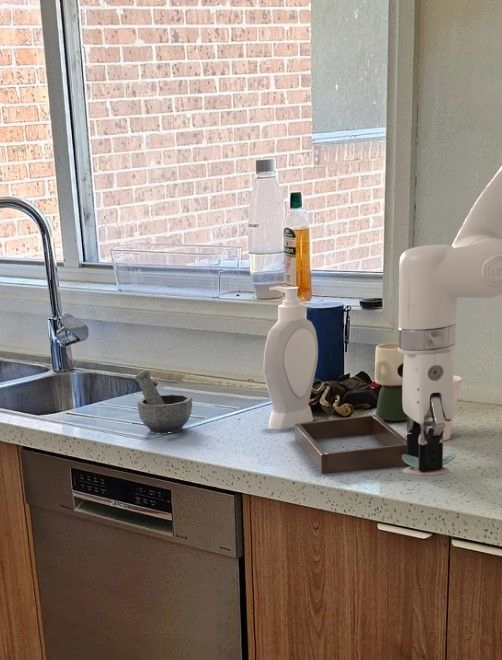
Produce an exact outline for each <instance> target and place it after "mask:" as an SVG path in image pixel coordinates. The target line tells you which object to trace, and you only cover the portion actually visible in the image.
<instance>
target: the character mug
mask: <svg viewBox="0 0 502 660" xmlns="http://www.w3.org/2000/svg"><path fill="white" fill-rule="evenodd" d="M403 361H404V353H403V354H402V353H399V352H398V341H393V342H385V343H380V344H378V345H376V346H375V356H374V381H375V384H377V385H381V386H382V387H381V388H380V390H379V393H378V399H377V404H376V411H375V414H376V415H377V416H379V417H380V418H381V419H382V420H384V421H387V422H401V421H408V419H407V415H406V414H405V412H404V411H403V404H402V382H403V364H404V362H403Z"/></svg>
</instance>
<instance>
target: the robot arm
mask: <svg viewBox="0 0 502 660" xmlns="http://www.w3.org/2000/svg"><path fill="white" fill-rule="evenodd" d="M471 207H472V208H470V211H469V212H468V214H467V216H466V217H465V219H464V221H463V223H462V225H461V227H460V229H459V230H458V233H457V235H456V237H454V240H453V242H452V244H451V245H450V244H428V245H420V246H415V247H411V248H409V249H406V250H405V251H403V253H402V254H401V256H400V258H399V266H398V270H399V271H398V282H399V283H398V329H397V330H398V335H397V336H398V337H397V339H398V341H397V342H398V352H399V353H402V354H403V353H404V361H403V362H404V364H403V382H402V404H403V411H404V412H405V414H406V415H407V422H406V440H407V447H406V454H407V455H410V456H414V457H417V458H419V464H418V469H419V471H420V472H428V471H437V470H441V469H442V467H443V466H442V464H443V458H444V440H443V433H444V430H443V429H444V427H445V421H444V420H446V421H448V422H449V421H451V420H452V419H453V418H455V414H454V380H453V375H454V364H453V356H452V351H453V350H454V349H455V348H456V331H457V305H458V303H457V302H458V300H457V299H458V298H480V299H487V298H488V299H489V298H495V297H500V296H502V165H501V166H500V167H499V169H498V170H497V172H496V173H495V175H494V176H493V177H492V179H491V180H490V181H489V182H488V184H487V185H486V186H485V188H484V189H483V190H482V192H481V194H479V196H478V197H477V199H476V201H475V202H474V204H473V206H471ZM429 418H432V421H429ZM453 420H454V419H453ZM430 426H432V428H429V430H428V433H427V428H428V427H430ZM420 434H421V443H422V444H419V443H418V439H419V435H420Z"/></svg>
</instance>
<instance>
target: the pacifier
mask: <svg viewBox="0 0 502 660" xmlns="http://www.w3.org/2000/svg"><path fill="white" fill-rule="evenodd" d="M428 430H429V428H427V433H428ZM418 443H419V444H422V443H421V434H420V435H419V439H418ZM402 459H403V460H404V462H406V463H407V464H409V465H411V466H410V467H404V469H403V470H402V472H403V473H404V474H406V475H410V476H415V477H437V476H444V475H447V474H449V473H450V472H451V470H450V469H449V468H448V467H446V466H445V465H447V464H449V463H451V461H453V460H454V459H456V454H451V455H448V456H447V455H446V456H443V464H442V469H441V470H437V471H428V472H420V471H419V469H418V464H419V458H417V457H414V456H410V455H407V454H403V455H402Z"/></svg>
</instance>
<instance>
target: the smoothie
mask: <svg viewBox="0 0 502 660" xmlns="http://www.w3.org/2000/svg"><path fill="white" fill-rule="evenodd" d="M453 380H454V415H455V414H456V408H457V403H458V398H459V391H460V387H461V386H462V385H463V378H462V377H461V376H459V375H454V374H453ZM454 418H455V417H454ZM454 418H453V419H452V420H451V421H449V422H448V421H446V420H444V421H445V427H444V429H443V430H444V433H443V441H448V440H449V439H451V435H452V430H453V424H454ZM429 421H432V418H429ZM428 428H432V426H430V427H428Z"/></svg>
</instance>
